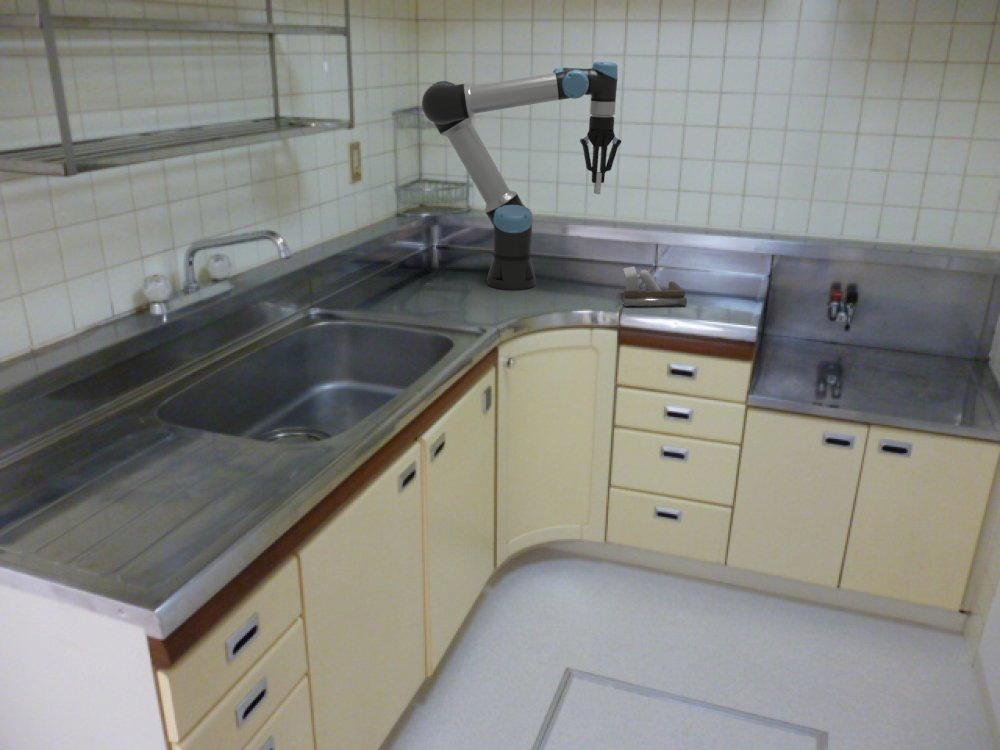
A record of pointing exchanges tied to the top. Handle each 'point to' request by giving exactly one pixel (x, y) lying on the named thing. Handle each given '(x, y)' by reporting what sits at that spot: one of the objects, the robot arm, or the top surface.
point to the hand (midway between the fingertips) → (597, 193)
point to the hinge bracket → (656, 297)
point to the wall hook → (632, 278)
